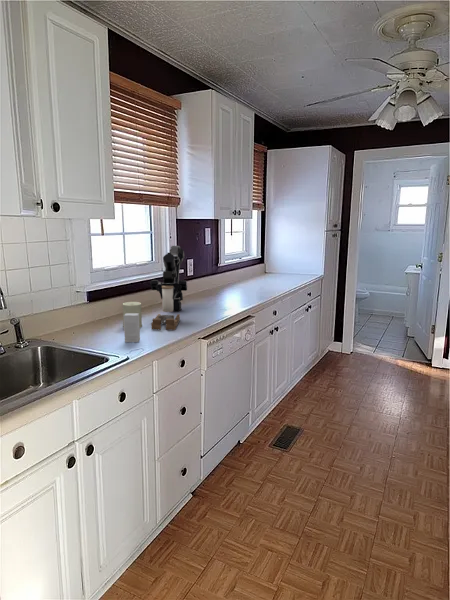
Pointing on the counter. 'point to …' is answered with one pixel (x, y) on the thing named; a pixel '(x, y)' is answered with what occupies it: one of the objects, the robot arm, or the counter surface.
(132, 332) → the skincare box
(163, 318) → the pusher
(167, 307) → the jar
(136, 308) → the can
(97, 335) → the counter surface
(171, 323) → the brown boxy piece
